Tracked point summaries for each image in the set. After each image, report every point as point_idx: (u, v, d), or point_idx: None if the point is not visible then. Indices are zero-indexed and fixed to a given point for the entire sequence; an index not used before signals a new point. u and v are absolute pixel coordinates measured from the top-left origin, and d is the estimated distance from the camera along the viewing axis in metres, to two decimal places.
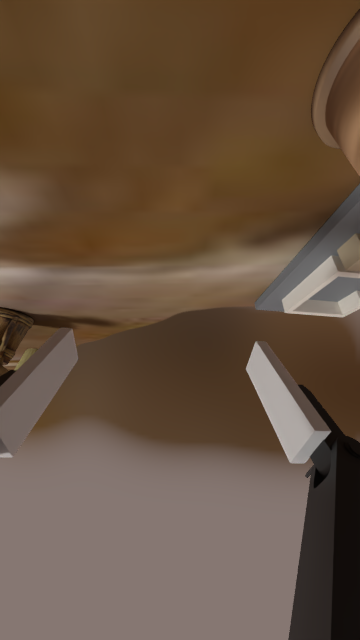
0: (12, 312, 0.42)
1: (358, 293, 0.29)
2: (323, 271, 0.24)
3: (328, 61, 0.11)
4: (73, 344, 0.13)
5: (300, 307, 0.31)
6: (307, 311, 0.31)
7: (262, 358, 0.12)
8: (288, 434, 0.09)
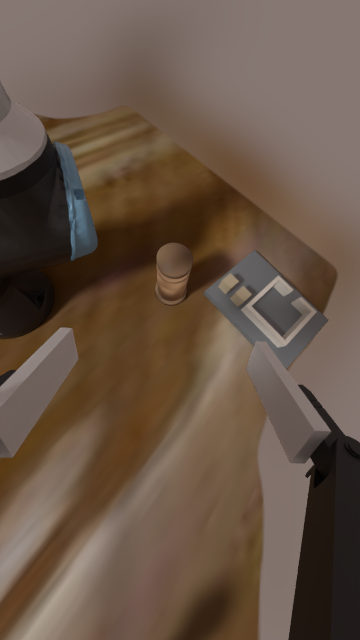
0: None
1: (292, 302, 0.40)
2: (248, 313, 0.37)
3: None
4: (73, 344, 0.13)
5: (287, 335, 0.36)
6: (293, 331, 0.36)
7: (262, 358, 0.12)
8: (288, 434, 0.09)
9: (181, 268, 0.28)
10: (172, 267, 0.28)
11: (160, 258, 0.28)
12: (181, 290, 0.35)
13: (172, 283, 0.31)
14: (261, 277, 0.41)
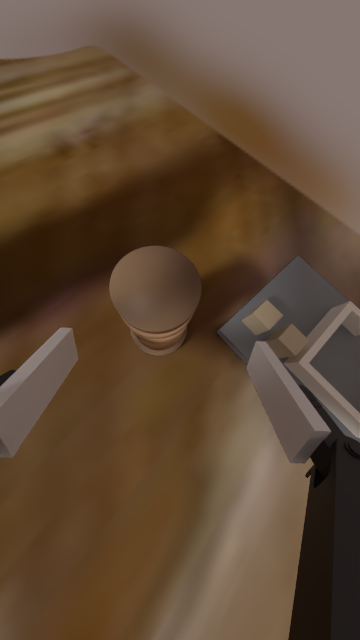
0: None
1: None
2: (301, 374, 0.20)
3: None
4: (73, 344, 0.13)
5: None
6: None
7: (262, 358, 0.12)
8: (288, 434, 0.09)
9: (172, 311, 0.11)
10: (149, 309, 0.11)
11: (119, 285, 0.11)
12: (176, 339, 0.17)
13: (154, 338, 0.13)
14: (313, 302, 0.24)
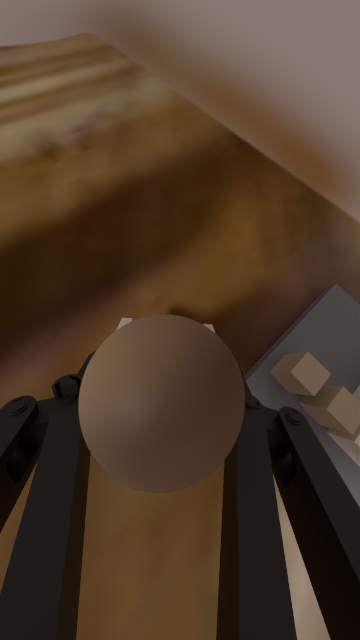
0: None
1: None
2: (354, 452, 0.15)
3: None
4: None
5: None
6: None
7: None
8: None
9: (195, 447, 0.06)
10: (152, 445, 0.06)
11: (97, 397, 0.06)
12: None
13: None
14: (359, 345, 0.19)
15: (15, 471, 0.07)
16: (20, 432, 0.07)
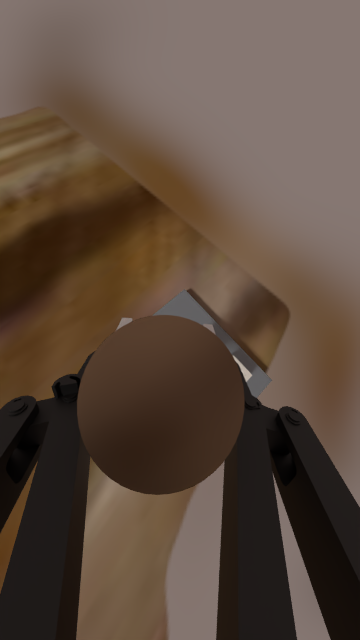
0: None
1: None
2: None
3: None
4: None
5: None
6: None
7: None
8: None
9: (194, 449, 0.06)
10: (151, 447, 0.06)
11: (96, 399, 0.06)
12: None
13: None
14: None
15: (15, 471, 0.07)
16: (20, 432, 0.07)
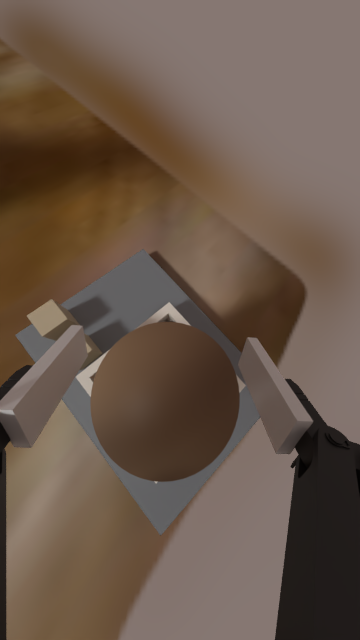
0: None
1: None
2: None
3: None
4: (83, 341, 0.13)
5: None
6: None
7: (253, 354, 0.13)
8: (274, 426, 0.10)
9: (194, 442, 0.07)
10: (156, 440, 0.07)
11: (107, 397, 0.07)
12: None
13: None
14: (147, 303, 0.21)
15: None
16: None
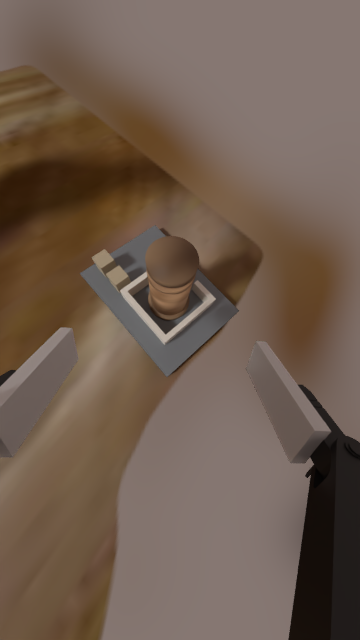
0: None
1: (192, 287, 0.32)
2: (128, 301, 0.29)
3: (152, 312, 0.30)
4: (73, 344, 0.13)
5: None
6: None
7: (262, 358, 0.12)
8: (288, 434, 0.09)
9: (181, 273, 0.19)
10: (168, 271, 0.19)
11: (151, 258, 0.19)
12: (182, 302, 0.25)
13: (169, 294, 0.21)
14: None
15: None
16: None
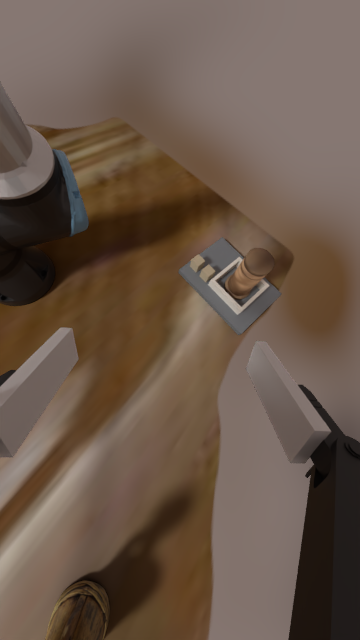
0: (82, 581, 0.31)
1: None
2: (213, 287, 0.46)
3: None
4: (73, 344, 0.13)
5: (244, 304, 0.45)
6: (248, 300, 0.44)
7: (262, 358, 0.12)
8: (288, 434, 0.09)
9: (266, 268, 0.36)
10: (259, 267, 0.36)
11: (249, 260, 0.36)
12: (253, 286, 0.42)
13: (254, 280, 0.38)
14: (226, 259, 0.50)
15: None
16: None
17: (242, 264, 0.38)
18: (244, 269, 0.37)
